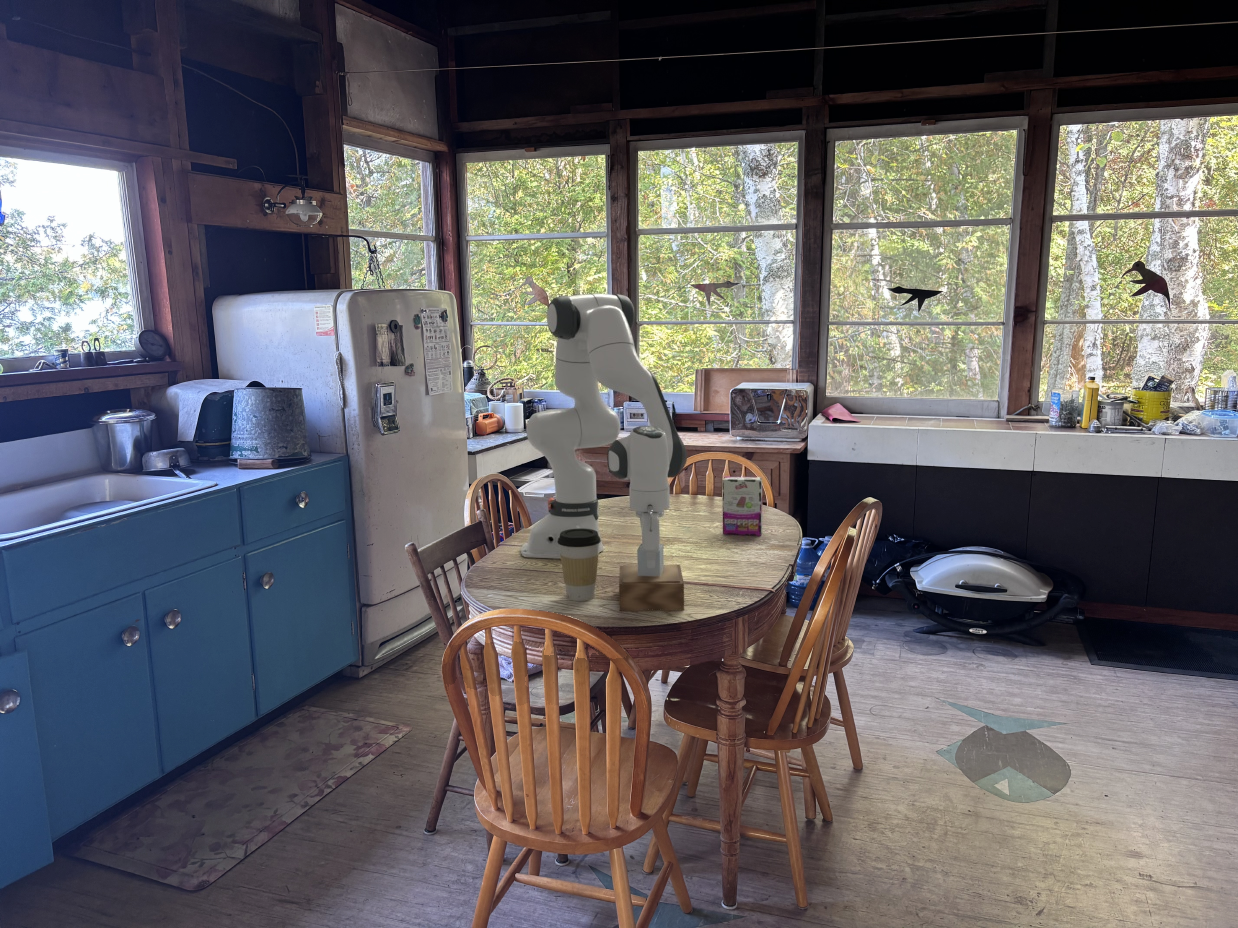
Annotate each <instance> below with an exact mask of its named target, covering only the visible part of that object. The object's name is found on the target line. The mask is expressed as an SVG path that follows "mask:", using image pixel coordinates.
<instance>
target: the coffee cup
mask: <svg viewBox="0 0 1238 928" xmlns="http://www.w3.org/2000/svg"><path fill="white" fill-rule="evenodd" d="M600 537H601V536H600ZM600 537H599V536H598V532H597V531H595V530H592V529H584V528H578V529H569V530H565V531H562V532H561V533H560V537H559V538H558V541H557V542H558V544H560V551H561V554H560V556H561V559H560V562H561V569H562V574H563V575H562V576H563V582H564V585H565V591H566V592H565V593H566V598H567V599H568V600H570V601H573V602H574V601H575V602H586V601H590V600H593V599H594V598H595V591H596V582H597V576H598V575H597V573H598V566H599V564H598V563H599V554H600V552H599V553H598V548H599V543H600V542H601V541H602V539H600Z"/></svg>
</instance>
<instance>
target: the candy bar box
mask: <svg viewBox="0 0 1238 928" xmlns="http://www.w3.org/2000/svg"><path fill="white" fill-rule="evenodd" d="M721 485H722V486H721V487H722V489H721V490H722V535H727V536H729V535H730V536H754V537H756V536H757V537H759V536H762V533H763V477H762V476H761V477H759V476H757V477H756V476H724V477H723V479H722V484H721Z"/></svg>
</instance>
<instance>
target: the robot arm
mask: <svg viewBox="0 0 1238 928" xmlns="http://www.w3.org/2000/svg"><path fill="white" fill-rule="evenodd" d="M635 314H636V313H635V307H634V304H633V303H632V301H631V299H630V298H629V297H628V296H626V295H623V294H618V293H613V294H608V293H594V292H593V293H591V292H590V293H588V294H587V293H586V294H575V295H569V296H568V295H567V294H566V295H561V296H557V297H554V298H552V299H551V301H550V302H549V304H548V306H547V311H546V322H547V326H548V330H549V332H550V333H551V334H552V336H553V337H555V338H557V339H556V347H555V348H556V349H555V367H554V368H555V370H554V384H555V387H556V388H557V390H558V391H559V392H560V393H562V394H563V395H565V396H567V397H569V398H571V399H573V400H574V407H570V408H569V407H568V408H555V409H554V408H552V409H546V410H542V411H539V412H536V413H533V414H532V415H531V416H530V418H529V419H528V421H527V425H526V429H525V431H526V437H527V439H528V442H529V444H530V445H531V446H532V447H533V448H534V449H535V450H537V451H538V452H540V453H541V454H542V455H543V456H544V457H545V459H546V461H547V462H548V463H549V465H550V467H551V470H552V472H553V480H554V491H555V498H553V497H550V498H549V499H548V501H547V508H548V509H547V510H548V511H547V512H548V513H547V514H546V515H545V516H543V518H541V519H540V520H539V521H537V522H536V523H535V524H534V525H533V526H532V527H531V529H530V531H529V535H528V541H527V542H525V543H524V544H523V545H522V546H521V547H520V555H521V554H522V555H521V556H522V557H524V558H535V559H536V558H538V559H560V560H561V556H560V554H561V551H560V544H558V542H557V541H558V538H559V537H560V533H561V532H562V531H565V530H569V529H578V528H584V529H592V530H595V531H597V532H598V536H599V537H600V539H601V534H600V528H599V516H600V510H599V508H600V507H599V499H598V498H597V474H596V471H595V469H594V467H592V466H591V465H590V464H588V463H586V462H584V461H582V460H579V459H578V458H577V456H576V450H577V449H589V448H600V447H602V446H603V447H604V446H607V445H609V444H611V445H609V447H608V450H607V453H606V455H607V456H606V457H607V458H606V459H607V468H608V472H610V473H611V474H612V475H613V476H614V477H616V479H618V480H626V481H628V480H629V481H630V482H629V483H630V484H629V487H628V488H629V509H630V510H632V511H634V512H635V516H636V517H637V518H639V523H640V529H641V531H640V532H641V544H642V548H643V552H646V558H647V567H648V568H654V567H655V557H656V552H659V550H660V544H661V541H660V540H661V536H660V535H661V533H660V531H661V530H660V518H662V517H664V515H665V511H667V510H669V509H670V505H671V504H670V503H671V499H670V498H671V497H670V483H669V478H675V477H677V476H678V475H679V474H680V473H681V472H682V470H683V469H684V468H685V466H686V464H687V459H688V455H687V450H686V446H685V444H684V442H683V440H682V438H681V437H680V434H679V432H678V431H677V429H676V426H675V423H674V421H673V418H672V416H671V413H670V411H669V408H668V404H667V402H666V399H665V397H664V394H663V392H662V388H661V386H660V384H659V382H658V379H657V377H656V375H655V374H654V372H652V371H651V370H649V369H647V367H646V366H645V365H644V363H642V361H641V359H640V357H639V356H638V354H637V350H636V347H635V342H634V337H633V334H632V331H631V330H632V329H633V327H634V325H635V324H634V323H635V319H636V316H635ZM599 384H601V385H602V386H603V387H605V388H607V389H609V390H612V391H614V392H618V393H622V394H624V395H627V396H629V397H632V398H634V399H635V400H636V401H638V402H640V403H641V405H642V407H643V408H644V410H645V413H646V416H647V418H648V421H649V424H650V425H639V426H636V427H634V428H633V429H631V430H630V434H628V435H627V436H624V437H622V438H620V439H618V437H619V436H620V432H621V420H620V418H619V416H618V414H617V413H616V411H615V410H614V409H613V408H611V407H610V406H609V405H608V404H607V403H606V402H605V401H604V399H603V398H602V395H601V393H600V388H599ZM603 550H604V545H603V543H602V539H601V542H600V543H599V548H598V553H599V554H600V552H603Z"/></svg>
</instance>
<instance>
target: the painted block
mask: <svg viewBox="0 0 1238 928" xmlns="http://www.w3.org/2000/svg"><path fill="white" fill-rule="evenodd" d="M636 551H637V554H636V555H637V556H636V557H637V559H636V560H637V565H638V576H655V577H660V576H661V574H662V572H663V570H664V565H665V564H664V562H665V561H664V560H665V559H664V557H665V556H664V544H661V543H660V550H659V552H656V557H655V567H654V568H648V567H647V558H646V552H643V548H642V543H640V545H639V546H638V548H637V550H636Z"/></svg>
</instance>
